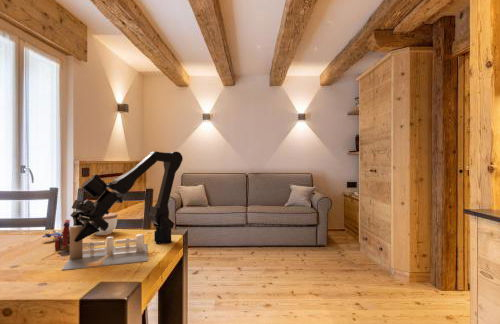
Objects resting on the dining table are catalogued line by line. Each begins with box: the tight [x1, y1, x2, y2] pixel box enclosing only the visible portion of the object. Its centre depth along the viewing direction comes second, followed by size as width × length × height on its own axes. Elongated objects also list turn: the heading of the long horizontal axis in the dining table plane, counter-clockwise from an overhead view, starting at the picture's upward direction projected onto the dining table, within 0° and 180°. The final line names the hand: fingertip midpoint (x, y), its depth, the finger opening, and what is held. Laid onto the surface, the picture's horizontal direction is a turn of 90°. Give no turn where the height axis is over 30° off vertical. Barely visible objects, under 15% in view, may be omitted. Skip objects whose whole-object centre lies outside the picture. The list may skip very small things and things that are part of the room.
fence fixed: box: [106, 233, 145, 255], centre depth 118 cm, size 13×3×6 cm, turn 109°
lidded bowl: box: [94, 212, 118, 236], centre depth 152 cm, size 13×13×11 cm
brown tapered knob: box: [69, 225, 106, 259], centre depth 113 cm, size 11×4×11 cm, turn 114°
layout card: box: [61, 243, 149, 271], centre depth 115 cm, size 26×24×1 cm
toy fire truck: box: [54, 219, 71, 250], centre depth 128 cm, size 7×12×10 cm, turn 26°
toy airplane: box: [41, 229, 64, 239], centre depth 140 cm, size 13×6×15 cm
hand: (71, 240), depth 110 cm, fingers open, 5 cm apart
